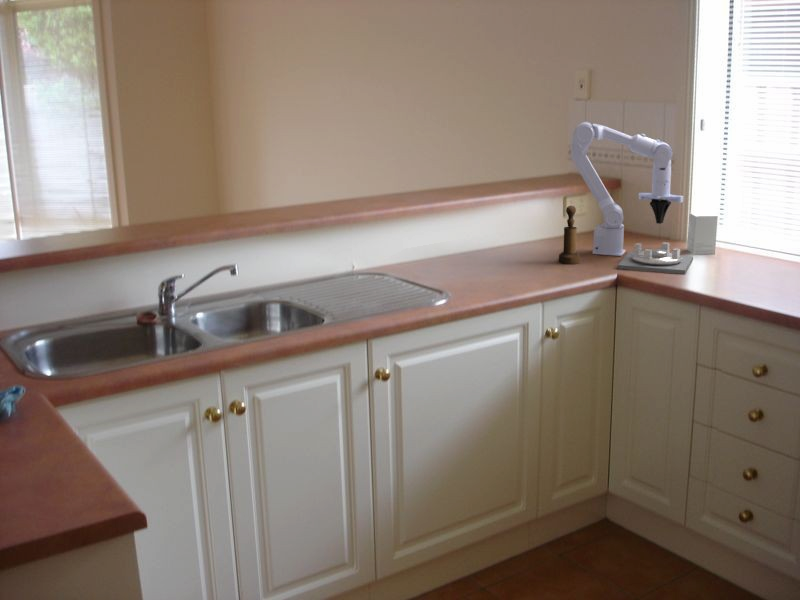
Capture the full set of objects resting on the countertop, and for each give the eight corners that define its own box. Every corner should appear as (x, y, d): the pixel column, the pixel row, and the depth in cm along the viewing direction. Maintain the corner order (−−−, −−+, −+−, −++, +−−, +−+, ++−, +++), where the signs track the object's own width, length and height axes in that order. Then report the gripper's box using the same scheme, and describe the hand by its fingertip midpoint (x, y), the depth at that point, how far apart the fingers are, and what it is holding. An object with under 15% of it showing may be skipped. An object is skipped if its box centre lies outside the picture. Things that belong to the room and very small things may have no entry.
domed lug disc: (623, 260, 294) (623, 247, 293) (644, 252, 305) (645, 239, 304) (668, 267, 285) (669, 253, 283) (689, 258, 296) (690, 245, 294)
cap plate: (617, 268, 290) (617, 264, 290) (629, 255, 308) (629, 251, 307) (685, 274, 282) (685, 269, 282) (693, 259, 300) (693, 255, 300)
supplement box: (715, 254, 308) (718, 215, 304) (692, 254, 308) (695, 216, 304) (708, 249, 315) (711, 211, 311) (686, 249, 315) (689, 211, 312)
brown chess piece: (579, 259, 303) (581, 204, 298) (580, 264, 296) (582, 207, 292) (558, 259, 303) (559, 204, 298) (559, 264, 297) (561, 207, 292)
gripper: (634, 181, 304) (633, 222, 307) (677, 184, 294) (675, 227, 298) (644, 178, 309) (643, 219, 312) (687, 181, 299) (685, 223, 303)
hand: (659, 223), depth 305 cm, fingers closed
